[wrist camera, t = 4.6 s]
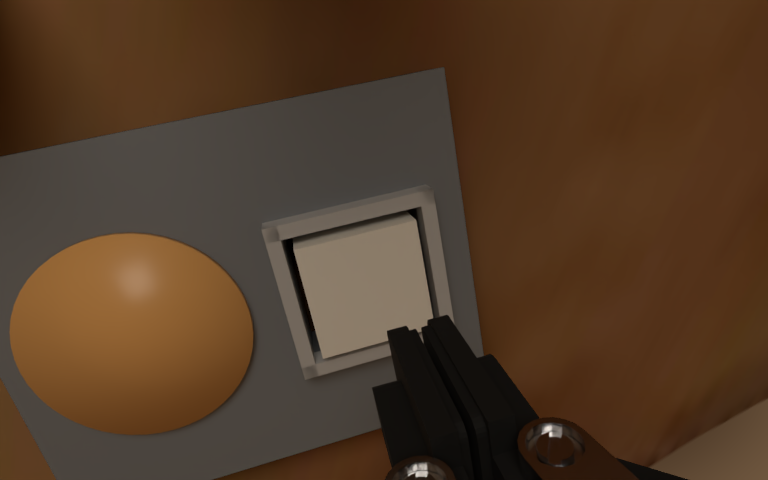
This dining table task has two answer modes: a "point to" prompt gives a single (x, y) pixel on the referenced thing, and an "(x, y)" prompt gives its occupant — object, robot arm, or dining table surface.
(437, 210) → the grey flat rectangular block
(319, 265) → the button
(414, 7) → the dining table surface
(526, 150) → the dining table surface
